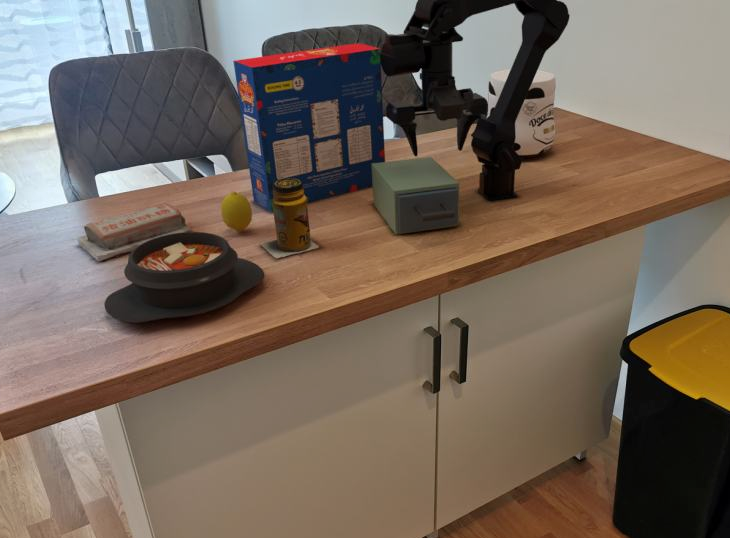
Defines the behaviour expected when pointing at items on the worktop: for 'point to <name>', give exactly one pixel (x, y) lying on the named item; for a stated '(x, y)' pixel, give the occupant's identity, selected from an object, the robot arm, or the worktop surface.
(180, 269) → the casserole
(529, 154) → the milk container
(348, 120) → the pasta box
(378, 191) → the cabinet
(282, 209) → the condiment
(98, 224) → the packaged product
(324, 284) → the worktop surface
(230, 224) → the lemon
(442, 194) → the drawer
